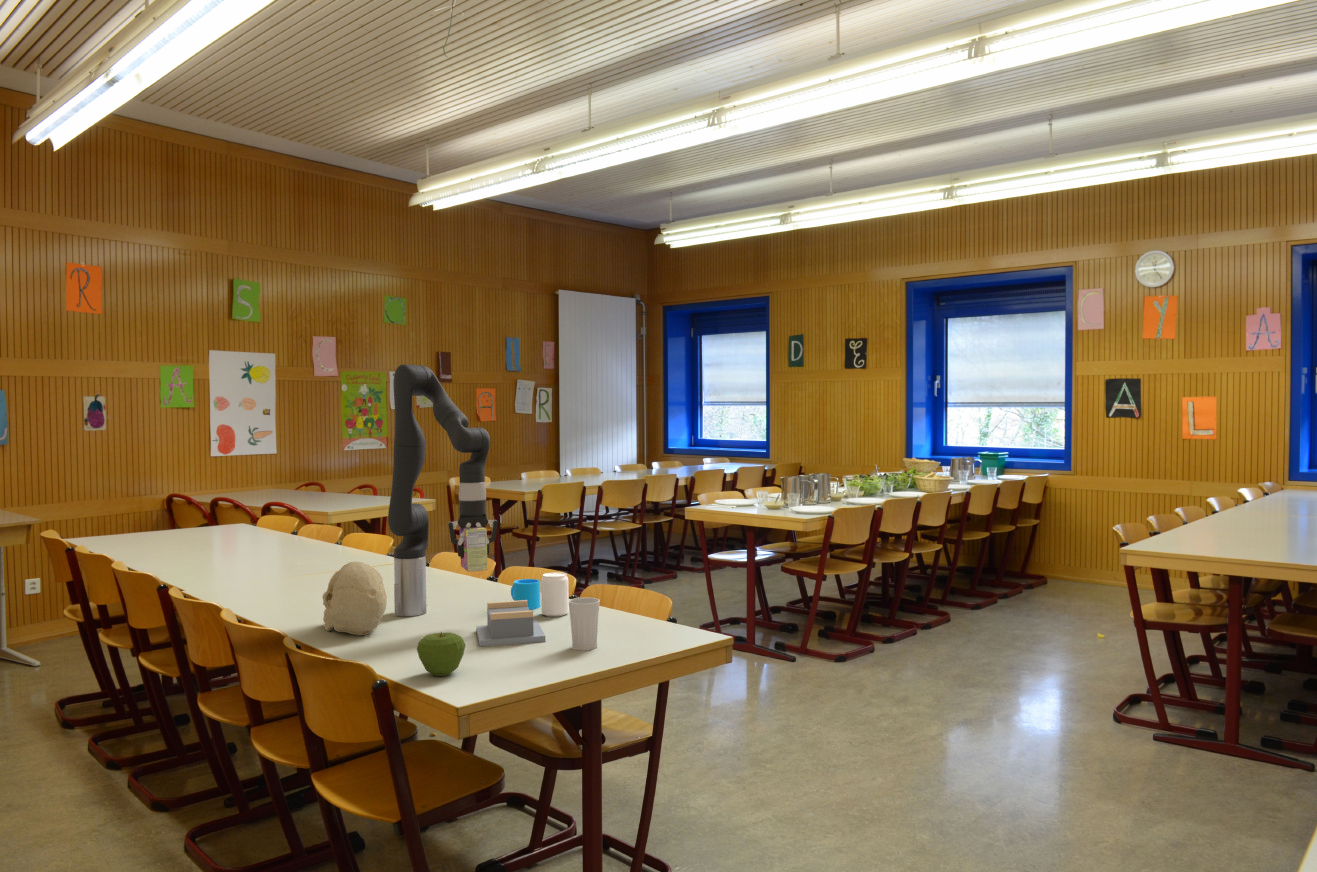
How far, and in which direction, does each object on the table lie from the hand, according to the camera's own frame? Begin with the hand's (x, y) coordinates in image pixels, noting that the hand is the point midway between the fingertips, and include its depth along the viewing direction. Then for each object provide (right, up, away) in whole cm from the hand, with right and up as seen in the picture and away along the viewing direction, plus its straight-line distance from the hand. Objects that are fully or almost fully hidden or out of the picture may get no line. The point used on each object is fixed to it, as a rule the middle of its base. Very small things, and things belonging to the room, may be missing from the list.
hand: (473, 557), depth 250 cm
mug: (+10, -19, +27) cm, 35 cm away
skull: (-34, -20, -2) cm, 39 cm away
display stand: (+12, -20, -11) cm, 26 cm away
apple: (+2, -21, -45) cm, 50 cm away
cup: (+33, -20, -23) cm, 45 cm away
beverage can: (+21, -19, +16) cm, 33 cm away
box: (0, -3, 0) cm, 3 cm away
